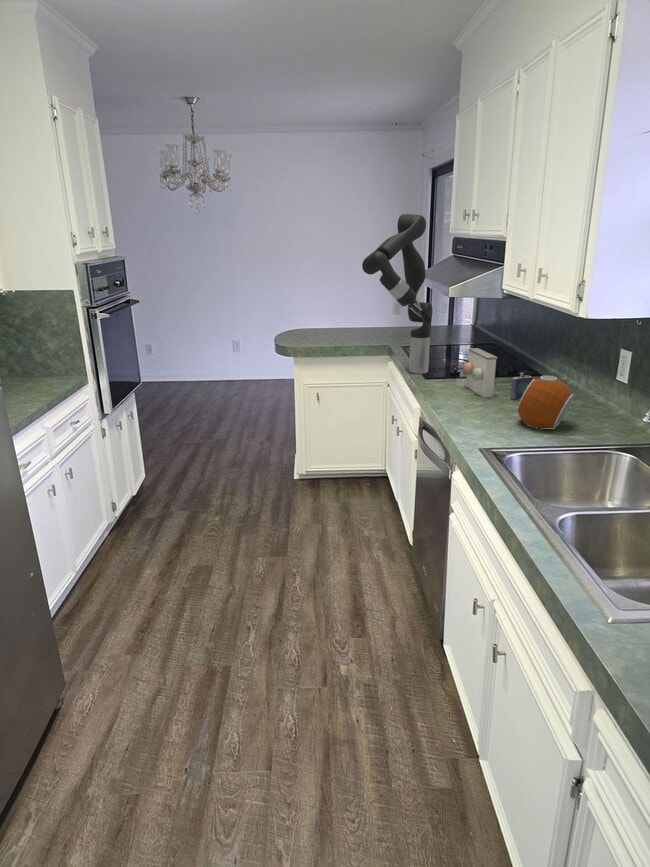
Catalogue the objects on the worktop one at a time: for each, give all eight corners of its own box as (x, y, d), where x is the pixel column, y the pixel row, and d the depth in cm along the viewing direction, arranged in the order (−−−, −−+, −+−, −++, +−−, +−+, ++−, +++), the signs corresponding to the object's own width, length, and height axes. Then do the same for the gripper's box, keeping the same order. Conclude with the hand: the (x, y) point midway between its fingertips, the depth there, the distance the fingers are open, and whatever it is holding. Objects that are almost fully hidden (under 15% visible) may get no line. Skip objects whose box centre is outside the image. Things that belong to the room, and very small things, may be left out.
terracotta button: (462, 373, 253) (463, 361, 252) (480, 372, 255) (481, 360, 253) (467, 375, 249) (468, 364, 247) (485, 374, 250) (486, 363, 249)
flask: (512, 400, 237) (515, 374, 233) (507, 398, 239) (510, 372, 236) (531, 398, 240) (534, 372, 236) (526, 396, 242) (529, 371, 239)
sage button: (471, 378, 244) (472, 366, 243) (490, 377, 246) (491, 366, 244) (476, 381, 240) (477, 369, 238) (496, 380, 241) (497, 368, 239)
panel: (465, 385, 258) (468, 348, 252) (474, 385, 259) (477, 348, 253) (483, 397, 240) (487, 357, 235) (493, 397, 241) (497, 357, 235)
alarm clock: (525, 413, 221) (531, 368, 215) (574, 421, 211) (581, 374, 205) (509, 426, 206) (514, 379, 200) (560, 436, 196) (567, 386, 190)
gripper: (413, 286, 230) (441, 317, 236) (403, 283, 242) (429, 312, 248) (399, 301, 231) (427, 330, 237) (390, 297, 243) (417, 325, 249)
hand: (428, 321), depth 242 cm, fingers closed
